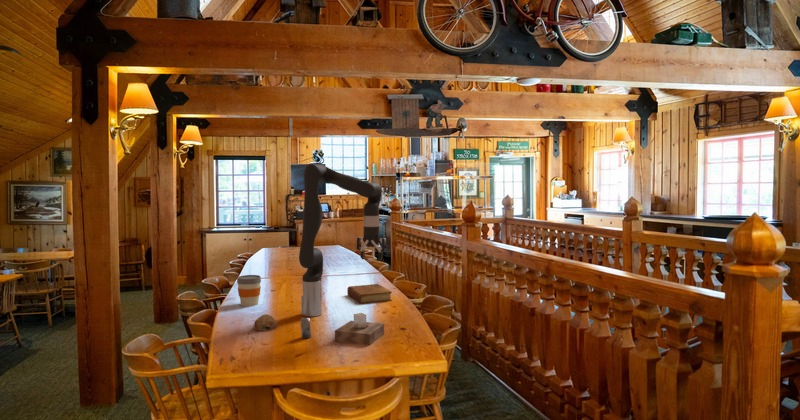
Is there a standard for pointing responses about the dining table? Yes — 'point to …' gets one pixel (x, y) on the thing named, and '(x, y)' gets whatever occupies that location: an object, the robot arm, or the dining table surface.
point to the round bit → (305, 327)
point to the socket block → (359, 333)
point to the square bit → (360, 321)
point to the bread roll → (265, 323)
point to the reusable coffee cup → (249, 289)
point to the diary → (369, 293)
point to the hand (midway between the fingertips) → (371, 259)
